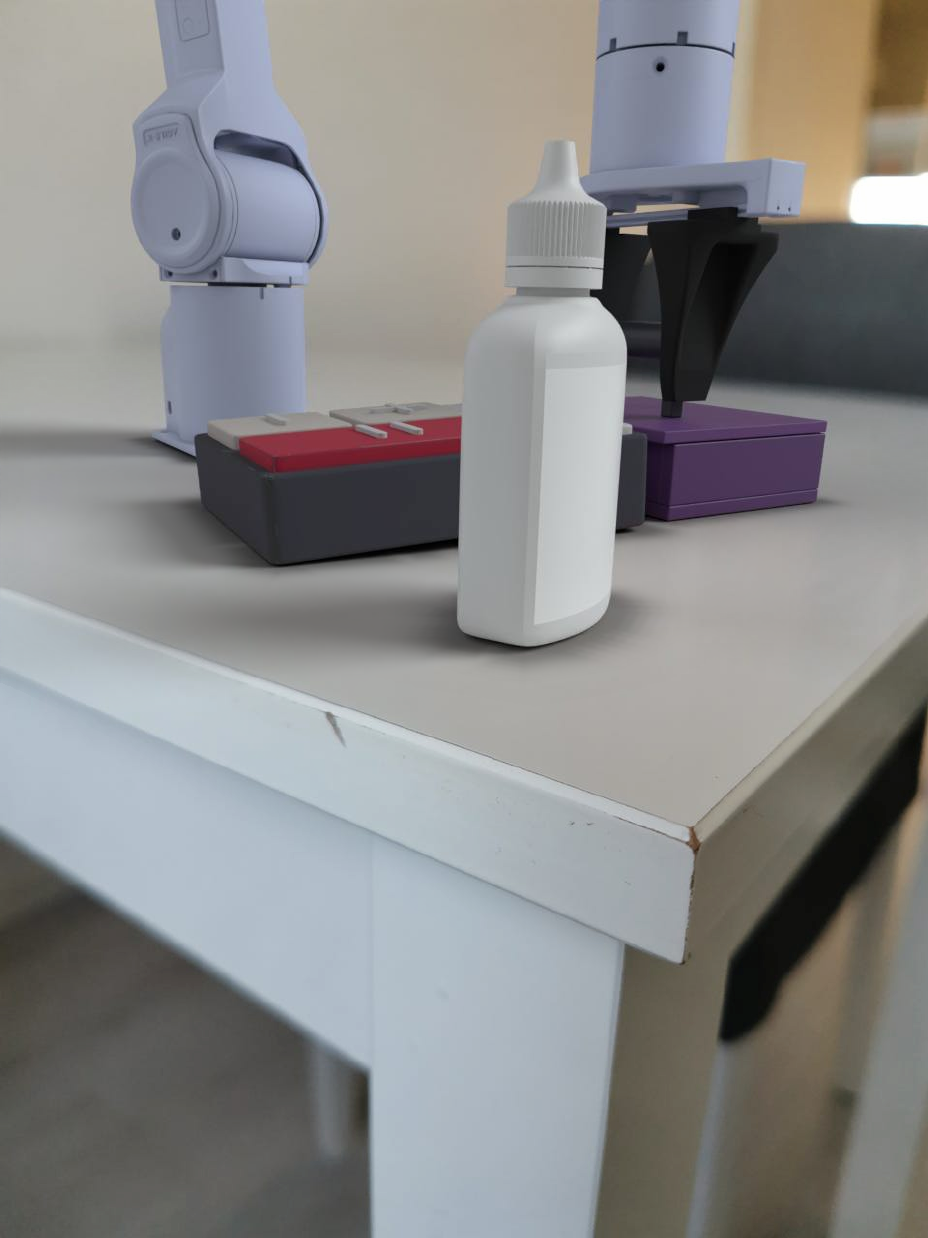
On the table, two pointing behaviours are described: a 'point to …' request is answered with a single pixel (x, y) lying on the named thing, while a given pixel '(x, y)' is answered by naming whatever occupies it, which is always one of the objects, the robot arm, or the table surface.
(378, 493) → the grey and red box
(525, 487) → the eye dropper bottle
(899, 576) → the table surface
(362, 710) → the table surface
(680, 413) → the purple lid
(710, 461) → the purple box
